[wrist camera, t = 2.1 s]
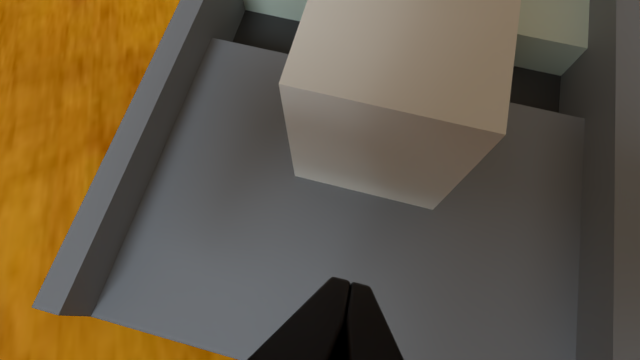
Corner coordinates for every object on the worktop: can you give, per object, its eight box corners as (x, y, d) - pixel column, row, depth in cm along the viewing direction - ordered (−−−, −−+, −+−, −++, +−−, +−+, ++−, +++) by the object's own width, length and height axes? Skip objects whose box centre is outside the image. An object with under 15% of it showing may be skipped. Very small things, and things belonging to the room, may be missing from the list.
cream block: (432, 209, 17) (505, 134, 10) (294, 176, 17) (278, 83, 11) (453, 90, 19) (525, -39, 12) (329, 62, 19) (332, -74, 13)
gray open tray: (560, 444, 16) (660, 495, 11) (100, 311, 18) (21, 306, 13) (583, -39, 25) (645, -125, 20) (274, -95, 26) (264, -186, 22)
